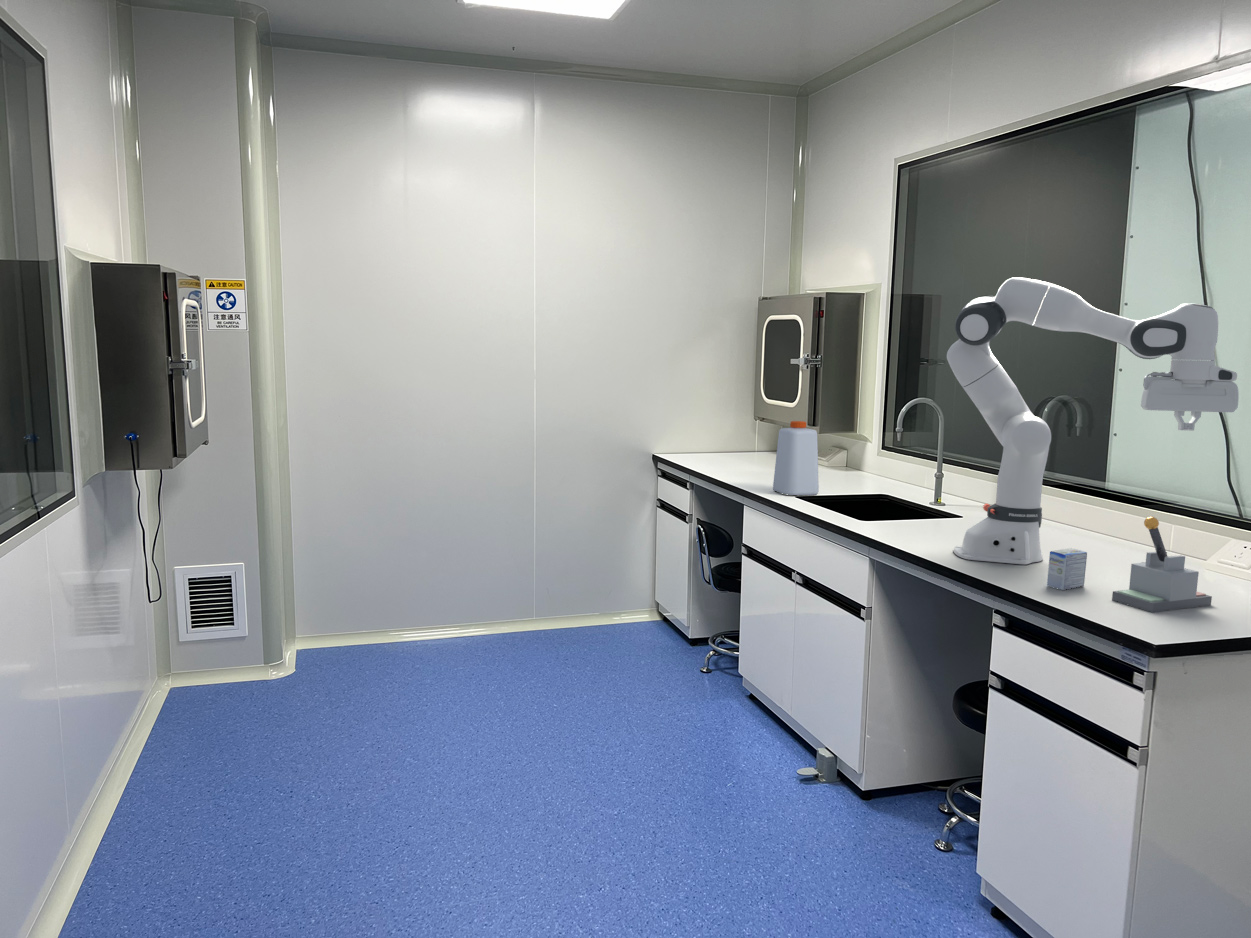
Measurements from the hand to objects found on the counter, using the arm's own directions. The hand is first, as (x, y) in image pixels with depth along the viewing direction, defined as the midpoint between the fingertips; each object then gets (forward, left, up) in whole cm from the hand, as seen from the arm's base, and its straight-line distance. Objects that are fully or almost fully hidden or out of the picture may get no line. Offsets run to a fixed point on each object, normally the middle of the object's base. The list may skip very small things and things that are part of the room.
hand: (1185, 430), depth 212 cm
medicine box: (-28, -12, -37) cm, 48 cm away
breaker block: (-11, -22, -37) cm, 44 cm away
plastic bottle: (-88, +115, -37) cm, 150 cm away
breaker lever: (-11, -22, -28) cm, 37 cm away
